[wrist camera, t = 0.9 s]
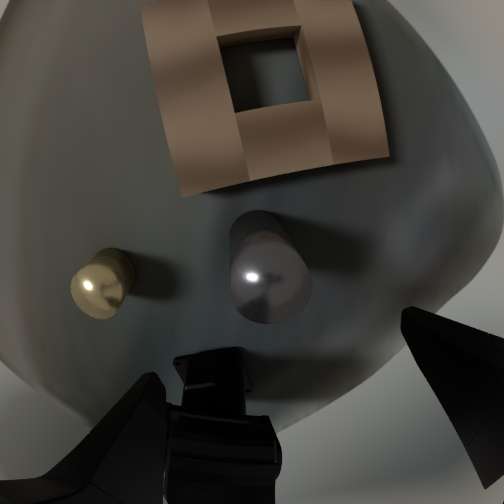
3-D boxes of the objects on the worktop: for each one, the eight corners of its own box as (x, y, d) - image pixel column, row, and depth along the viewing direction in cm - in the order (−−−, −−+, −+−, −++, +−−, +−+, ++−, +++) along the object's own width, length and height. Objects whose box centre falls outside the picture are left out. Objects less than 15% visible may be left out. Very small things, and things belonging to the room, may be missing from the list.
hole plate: (372, 154, 19) (389, 156, 17) (187, 191, 19) (182, 197, 17) (331, -7, 14) (342, -21, 12) (149, 19, 14) (140, 6, 12)
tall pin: (287, 255, 22) (316, 313, 14) (236, 266, 22) (241, 331, 14) (278, 204, 20) (306, 242, 13) (223, 217, 20) (221, 262, 13)
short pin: (142, 287, 22) (128, 314, 18) (103, 296, 22) (85, 322, 18) (124, 243, 20) (105, 264, 17) (85, 254, 20) (62, 275, 17)
